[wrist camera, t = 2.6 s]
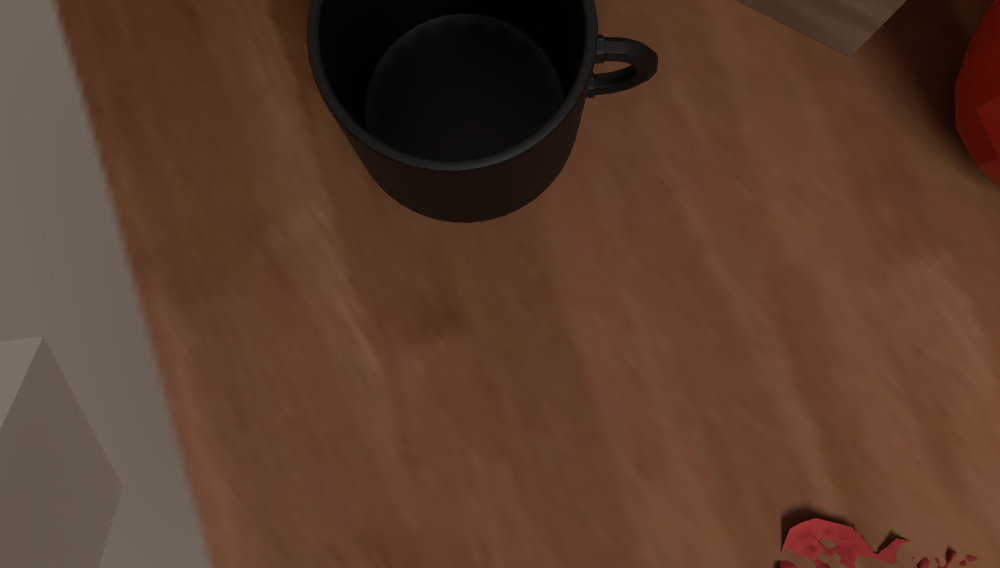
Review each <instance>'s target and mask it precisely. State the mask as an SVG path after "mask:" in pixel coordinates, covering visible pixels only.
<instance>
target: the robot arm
mask: <svg viewBox="0 0 1000 568" xmlns="http://www.w3.org/2000/svg"><path fill="white" fill-rule="evenodd" d="M122 488H123V487H122V485H121V483H120V481H119V479H118V477H117V475H116V474H115V472H114V470H113V468H112V466H111V464H110V462H109V460H108V458H107V456H106V455H105V453H104V451H103V449H102V447H101V445H100V443H99V441H98V439H97V438H96V436H95V434H94V432H93V430H92V428H91V426H90V424H89V422H88V420H87V418H86V417H85V415H84V413H83V411H82V409H81V407H80V405H79V403H78V402H77V400H76V398H75V396H74V394H73V392H72V390H71V388H70V386H69V384H68V383H67V380H66V379H65V377H64V375H63V373H62V371H61V369H60V367H59V365H58V363H57V362H56V360H55V358H54V356H53V354H52V352H51V350H50V348H49V346H48V344H47V342H46V341H45V339H44V337H35V338H27V339H19V340H11V341H5V342H0V568H99V564H100V561H101V558H102V554H103V551H104V548H105V545H106V541H107V538H108V534H109V531H110V527H111V525H112V521H113V518H114V515H115V511H116V508H117V505H118V501H119V498H120V495H121V491H122Z"/></svg>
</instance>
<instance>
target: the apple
mask: <svg viewBox="0 0 1000 568" xmlns="http://www.w3.org/2000/svg"><path fill="white" fill-rule="evenodd" d="M955 123H956V130H957V132H958V134H959V136H960V137H961V139H962V141H963V143H964V145H965V147H966V148H967V150H968V152H969V154H970V156H971V157H972V159H973V161H974V163H975V165H976V167H977V168H979V169H980V170H981V171H982V172H983V173H984V174H985V175H986V176H987V177H988V178H989V179H990V180H991V181H992V182H994V183H995V184H996V185H997V186H998V187H999V188H1000V0H995V1H994V3H993V4H992V5H991V6H990V7H989V8H988V10H987V11H986V13H985V15H984V17H983V19H982V21H981V22H980V24H979V26H978V28H977V30H976V32H975V33H974V35H973V37H972V39H971V41H970V43H969V45H968V46H967V48H966V52H965V55H964V58H963V61H962V64H961V68H960V71H959V74H958V77H957V80H956V83H955Z"/></svg>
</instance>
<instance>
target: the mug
mask: <svg viewBox="0 0 1000 568" xmlns="http://www.w3.org/2000/svg"><path fill="white" fill-rule="evenodd" d="M307 46H308V56H309V61H310V65H311V69H312V73H313V77H314V80H315V83H316V85H317V87H318V89H319V92H320V94H321V96H322V98H323V100H324V102H325V103H326V105H327V107H328V108H329V110H330V112H331V113H332V115H333V116H334V118H335V119H336V121H337V123H338V124H339V126H340V127H341V129H342V131H343V132H344V134H345V135H346V137H347V138H348V140H349V142H350V143H351V145H352V146H353V148H354V150H355V151H356V153H357V154H358V156H359V158H360V159H361V161H362V162H363V164H364V165H365V167H366V169H367V170H368V172H369V173H370V175H371V176H372V178H373V179H374V180H375V181H376V183H377V184H378V185H379V186H380V187H381V188H382V189H383V190H384V191H385V192H386V193H387V194H388V195H390V196H391V197H392V198H393V199H395V200H396V201H397V202H398V203H400V204H401V205H403V206H405V207H407V208H409V209H410V210H412V211H414V212H417V213H419V214H421V215H424V216H427V217H430V218H433V219H437V220H443V221H448V222H463V223H471V222H479V221H486V220H491V219H494V218H498V217H501V216H505V215H507V214H509V213H511V212H514V211H516V210H518V209H520V208H522V207H523V206H525V205H526V204H528V203H529V202H531V201H532V200H534V199H536V198H537V197H538V196H539V195H540V194H541V193H542V192H543V191H544V190H546V189H547V188H548V186H549V185H550V184H551V183H552V182H553V181H554V180H555V178H556V177H557V176H558V174H559V173H560V172H561V170H562V168H563V167H564V165H565V163H566V161H567V160H568V157H569V155H570V153H571V150H572V147H573V145H574V142H575V139H576V135H577V131H578V127H579V123H580V119H581V115H582V111H583V107H584V103H585V99H586V98H593V97H594V95H600V94H609V93H615V92H619V91H623V90H627V89H630V88H633V87H635V86H637V85H639V84H641V83H644V82H646V81H647V80H649V79H650V78H651V77H652V76H653V75H654V74H655V73H656V71H657V64H658V56H657V54H656V52H654V51H653V50H652V49H650V48H649V47H648V46H646V45H645V44H643V43H641V42H639V41H636V40H632V39H627V38H619V37H603V35H598V22H597V15H596V7H595V3H594V0H311V4H310V9H309V14H308V23H307ZM604 61H619V62H626V63H629V64H631V66H629V67H627V68H624V69H621V70H618V71H614V72H609V73H601V74H594V73H593V67H594V63H604Z"/></svg>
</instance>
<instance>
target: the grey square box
mask: <svg viewBox="0 0 1000 568" xmlns="http://www.w3.org/2000/svg"><path fill="white" fill-rule="evenodd" d="M736 1H738V2H740V3H742V4H744V5H746V6H749V7H751V8H753V9H755V10H757V11H759V12H761V13H763V14H765V15H767V16H769V17H771V18H773V19H775V20H777V21H779V22H781V23H783V24H785V25H787V26H789V27H791V28H793V29H795V30H797V31H799V32H801V33H803V34H805V35H807V36H809V37H811V38H813V39H815V40H818V41H820V42H822V43H824V44H826V45H828V46H830V47H832V48H834V49H836V50H838V51H840V52H842V53H844V54H846V55H848V56H850V57H851V56H852V55H853V54H854V53H855V52H856V51H857V50H858V49H859V48H860V47H861V46H862V45H863V44H864V43H865V42H866V41H867V40H868V39H869V38H870V37H871V36H872V35H873V34H874V33H875V32H876V31H877V30H878V29H879V28H880V27H881V26H882V25H883V24H884V23H885V22H886V21H887V20H888V19H889V18H890V17H891V16H892V15H893V14H894V13H895V12H896V11H897V10H898V9H899V8H900V7H901V6H902V5H903V4H904V3H905V2H906V1H907V0H736Z"/></svg>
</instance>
